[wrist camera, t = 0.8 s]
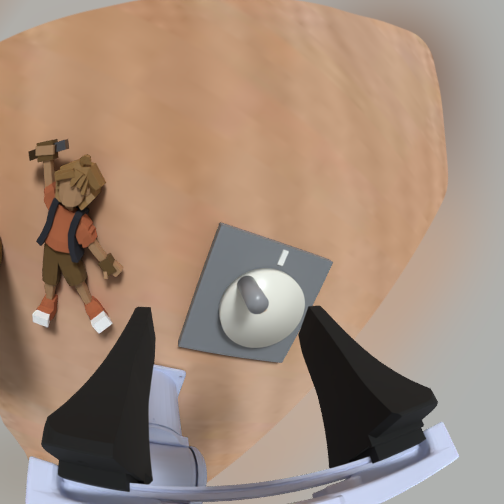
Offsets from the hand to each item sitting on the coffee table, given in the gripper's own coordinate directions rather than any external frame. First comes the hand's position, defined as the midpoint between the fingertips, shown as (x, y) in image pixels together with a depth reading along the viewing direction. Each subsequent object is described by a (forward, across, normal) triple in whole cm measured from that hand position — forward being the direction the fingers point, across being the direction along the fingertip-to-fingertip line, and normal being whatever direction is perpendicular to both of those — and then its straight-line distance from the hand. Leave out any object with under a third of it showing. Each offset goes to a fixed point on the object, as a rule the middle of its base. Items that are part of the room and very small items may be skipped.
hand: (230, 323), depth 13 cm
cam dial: (+12, -5, +11) cm, 17 cm away
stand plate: (+13, -5, +11) cm, 18 cm away
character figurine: (+14, +14, +4) cm, 20 cm away
